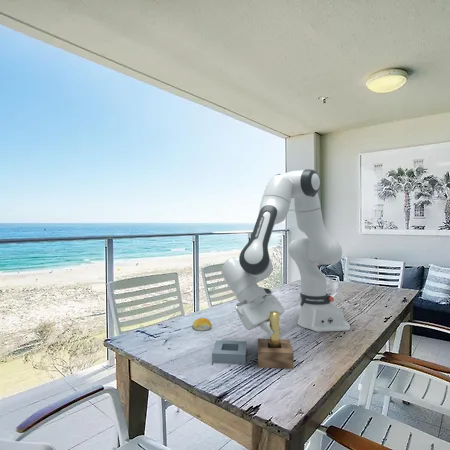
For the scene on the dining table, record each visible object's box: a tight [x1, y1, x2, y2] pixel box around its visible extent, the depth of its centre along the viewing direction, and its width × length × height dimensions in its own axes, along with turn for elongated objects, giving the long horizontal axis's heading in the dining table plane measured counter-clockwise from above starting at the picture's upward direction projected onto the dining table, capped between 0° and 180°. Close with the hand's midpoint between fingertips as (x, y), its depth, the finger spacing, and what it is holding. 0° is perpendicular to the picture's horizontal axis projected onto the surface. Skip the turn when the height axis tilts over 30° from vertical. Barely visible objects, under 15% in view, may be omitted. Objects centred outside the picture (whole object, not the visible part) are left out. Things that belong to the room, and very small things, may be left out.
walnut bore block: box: [257, 337, 294, 370], centre depth 104 cm, size 11×11×6 cm
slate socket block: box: [211, 340, 247, 366], centre depth 108 cm, size 11×11×4 cm
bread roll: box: [192, 317, 213, 332], centre depth 139 cm, size 8×9×4 cm
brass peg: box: [269, 311, 280, 348], centre depth 104 cm, size 3×3×16 cm
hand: (276, 332), depth 104 cm, fingers closed on brass peg, 3 cm apart
